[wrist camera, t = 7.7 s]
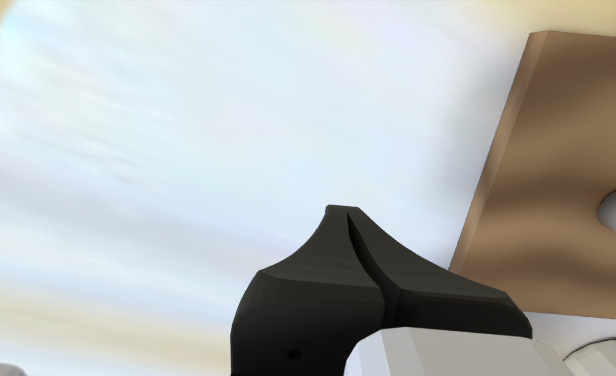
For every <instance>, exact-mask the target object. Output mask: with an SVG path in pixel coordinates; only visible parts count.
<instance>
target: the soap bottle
mask: <svg viewBox="0 0 616 376" xmlns="http://www.w3.org/2000/svg"><path fill="white" fill-rule="evenodd" d="M563 362H564V363H565V364H566V365H567V367H568V368H569V369H570V370H571V371H572V373H573V374H574V375H575V376H616V340H608V341H604V342H600V343H595V344H591V345H588V346H586V347H584V348H582V349H580V350H578V351H576V352H574V353H572V354H571V355H570V356H569V357H568V358H566V359H565V360H564V361H563Z"/></svg>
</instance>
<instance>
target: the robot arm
mask: <svg viewBox="0 0 616 376" xmlns="http://www.w3.org/2000/svg"><path fill="white" fill-rule="evenodd" d="M532 339H533V338H532V327H531V324H530V322H529V320H528V318H527V317H526V316H525V315H524V313H523V312H522V311H521V310H520V309H519V307H518V306H517V305H516V304H515V303H514V301H513V300H512V299H511V298H510V297H509V295H508V294H507V293H506V292H504V291H501V290H498V289H495V288H492V287H489V286H487V285H484V284H481V283H478V282H475V281H472V280H469V279H467V278H464V277H462V276H460V275H457V274H455V273H452V272H450V271H448V270H446V269H444V268H441V267H439V266H437V265H436V264H434V263H432V262H430V261H428V260H426V259H424V258H422V257H421V256H419V255H417V254H415V253H414V252H412V251H411V250H409V249H408V248H406V247H405V246H403V245H402V244H400V243H399V242H397V241H396V240H395V239H394V238H392V237H391V236H390V235H388V234H387V233H386V232H385V231H384V230H383V229H381V228H380V227H379V226H378V225H377V224H376V223H375V222H374V221H373V220H371V219H370V218H369V217H368V216H367V215H366V214H365V213H364V212H363V211H362V210H361V209H360V208H358V207H351V206H340V205H328V206H326V210H325V215H324V217H323V219H322V221H321V223H320V225H319V226H318V228H317V229H316V231H315V232H314V233H313V235H312V236H311V237H310V238H309V239H308V241H307V242H306V243H305V244H304V245H303V246H301V247H300V248H299V249H298V250H297V251H296V252H294V253H293V254H292V255H290V256H289V257H287V258H286V259H284V260H282V261H280V262H278V263H276V264H274V265H272V266H269V267H267V268H265V269H262V270H259V271H258V272H257V273H256V275H255V276H254V278H253V279H252V281H251V283H250V284H249V286H248V288H247V289H246V291H245V293H244V295H243V297H242V299H241V301H240V303H239V306H238V308H237V311H236V314H235V317H234V320H233V323H232V328H231V334H230V344H231V376H575V375H574V374H573V373H572V371H571V370H570V369H569V368H568V367H567V365H566V364H565V363H564V362H563V361H562V359H561V358H560V357H559V356H558V355H557V353H556V352H555V351H554V350H553V349H552V347H551V346H550V345H547V344H544V343H541V342H538V341H535V340H532ZM0 376H27V374H26V373H25V372H24V370H23V369H21V368H19V367H18V366H16V365H12V364H8V363H0Z"/></svg>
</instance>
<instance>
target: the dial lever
mask: <svg viewBox="0 0 616 376" xmlns="http://www.w3.org/2000/svg"><path fill="white" fill-rule="evenodd" d="M597 219H598V221H599V222H600V223H601V224H602V225H604V226H606V227H607V228H609V229H611V230H613V231H615V232H616V191H615V192H613V193H612V194H610V195H609V196H607V197H606V198H605V199H604V200H603V201H602V203H601V204H600V205H599V207H598V210H597Z"/></svg>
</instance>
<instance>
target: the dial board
mask: <svg viewBox="0 0 616 376" xmlns="http://www.w3.org/2000/svg"><path fill="white" fill-rule="evenodd" d="M615 191H616V37H609V36H599V35H589V34H578V33H568V32H558V31H542V32H536V33H530V35H529V38H528V41H527V44H526V47H525V50H524V52H523V55H522V58H521V61H520V64H519V67H518V70H517V73H516V76H515V79H514V81H513V84H512V87H511V90H510V93H509V96H508V99H507V102H506V105H505V108H504V110H503V113H502V116H501V119H500V122H499V125H498V128H497V131H496V134H495V136H494V139H493V142H492V145H491V148H490V151H489V154H488V157H487V160H486V163H485V165H484V168H483V171H482V174H481V177H480V180H479V183H478V186H477V189H476V192H475V194H474V197H473V200H472V203H471V206H470V209H469V212H468V215H467V218H466V221H465V223H464V226H463V229H462V232H461V235H460V238H459V241H458V244H457V247H456V249H455V252H454V255H453V258H452V261H451V264H450V267H449V270H448V271H450V272H452V273H455V274H457V275H460V276H462V277H464V278H467V279H469V280H472V281H475V282H478V283H481V284H484V285H487V286H489V287H492V288H495V289H498V290H501V291H504V292H506V293H507V294H508V295H509V297H510V298H511V299H512V300H513V301H514V303H515V304H516V305H517V306H518V307H519V309H520V310H521V311H527V312H538V313H550V314H561V315H573V316H584V317H595V318H607V319H616V232H615V231H613V230H611V229H609V228H607V227H606V226H604V225H602V224H601V223H600V222H599V221H598V219H597V210H598V207H599V205H600V204H601V203H602V201H603V200H604V199H605V198H606V197H607V196H609V195H610V194H612V193H613V192H615Z"/></svg>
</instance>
